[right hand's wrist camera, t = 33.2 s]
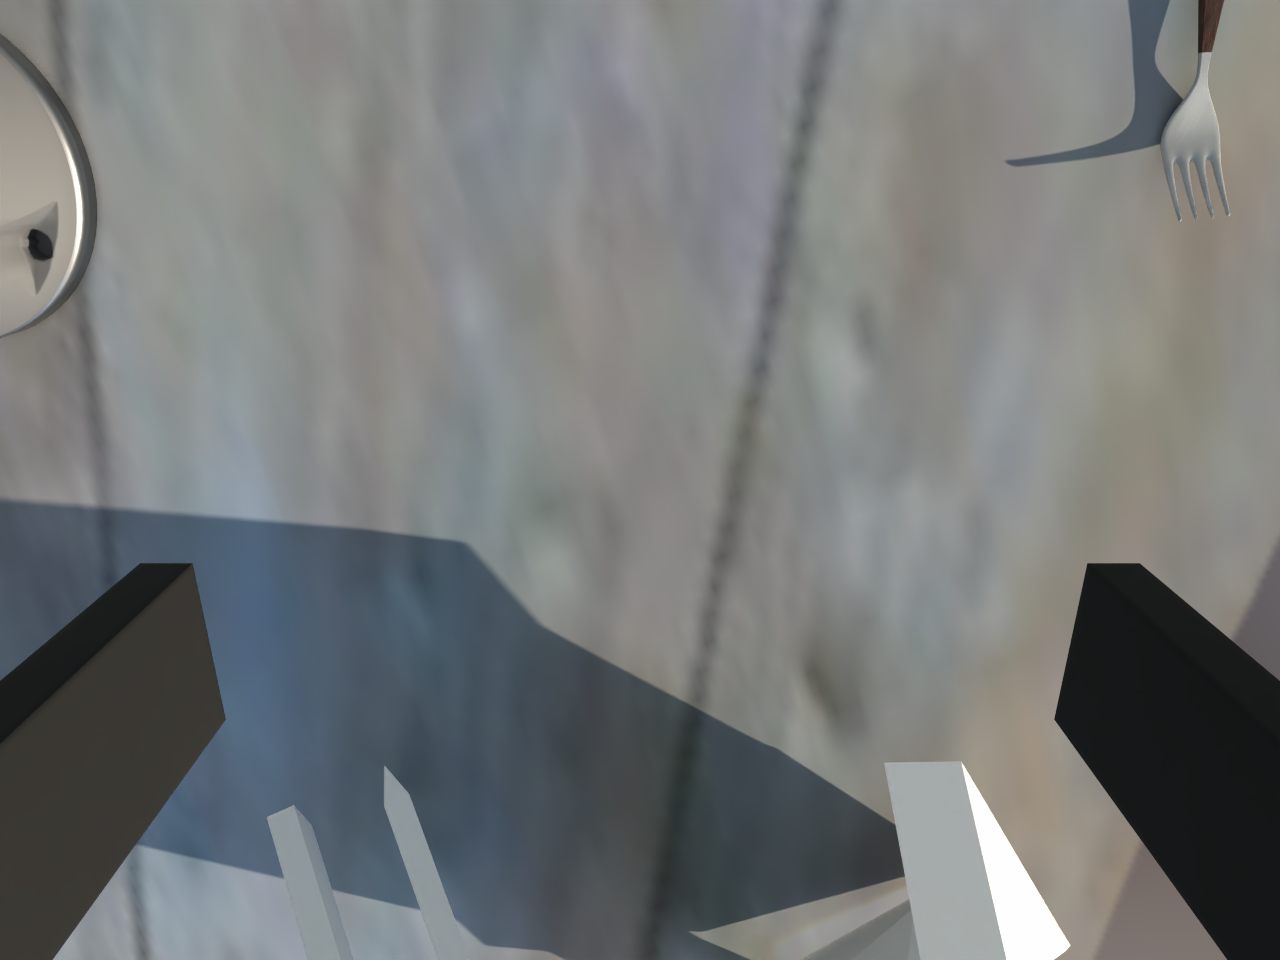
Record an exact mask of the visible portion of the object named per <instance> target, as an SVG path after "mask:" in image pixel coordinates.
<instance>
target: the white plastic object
mask: <svg viewBox="0 0 1280 960" xmlns="http://www.w3.org/2000/svg"><path fill="white" fill-rule="evenodd" d="M884 765H885V770H886V776H887V781H888V786H889V792H890V797H891V803H892V808H893V813H894V819H895V824H896V830H897V835H898V840H899V846H900V851H901V857H902V862H903V868H904V873H905V878H906V884H907V889H908V895H909V899H908V900H907V901H905V902H903V903H901V904H899V905H898V906H896V907H894V908H892V909H890V910H889V911H887V912H885V913H883V914H882V915H880V916H878V917H876V918H874V919H873V920H871V921H869V922H867V923H865V924H864V925H862V926H860V927H858V928H856V929H855V930H853V931H851V932H849V933H847V934H846V935H844V936H842V937H840V938H838V939H837V940H835V941H833V942H831V943H829V944H828V945H826V946H824V947H822V948H820V949H819V950H817V951H815V952H813V953H811V954H810V955H808V956H806V957H804V958H802V959H801V960H1054V959H1055V958H1056V957H1058V956H1059V955H1061V954H1062V953H1063V952H1065V951H1066V950H1067V949H1068V948H1069V946H1070V944H1069V942H1068V941H1067V939H1066V938H1065V936H1064V934H1063V933H1062V931H1061V929H1060V928H1059V926H1058V924H1057V923H1056V921H1055V919H1054V918H1053V916H1052V914H1051V912H1050V911H1049V909H1048V907H1047V906H1046V904H1045V902H1044V901H1043V899H1042V897H1041V896H1040V894H1039V892H1038V890H1037V889H1036V887H1035V885H1034V884H1033V882H1032V880H1031V879H1030V877H1029V875H1028V874H1027V872H1026V870H1025V869H1024V867H1023V865H1022V863H1021V862H1020V860H1019V858H1018V857H1017V855H1016V853H1015V852H1014V850H1013V848H1012V847H1011V845H1010V843H1009V841H1008V840H1007V838H1006V836H1005V835H1004V833H1003V831H1002V830H1001V828H1000V826H999V825H998V823H997V821H996V820H995V818H994V816H993V814H992V813H991V811H990V809H989V808H988V806H987V804H986V803H985V801H984V799H983V798H982V796H981V794H980V792H979V791H978V789H977V787H976V786H975V784H974V782H973V781H972V779H971V777H970V776H969V774H968V772H967V771H966V769H965V767H964V765H963V764H962V762H961V761H959V762H894V763H884ZM384 807H385V810H386V813H387V816H388V819H389V821H390V824H391V827H392V830H393V833H394V836H395V839H396V841H397V844H398V847H399V850H400V853H401V856H402V859H403V861H404V864H405V867H406V870H407V873H408V876H409V879H410V881H411V884H412V887H413V890H414V893H415V896H416V899H417V901H418V904H419V907H420V910H421V913H422V916H423V919H424V921H425V924H426V927H427V930H428V933H429V936H430V939H431V941H432V944H433V947H434V950H435V953H436V956H437V959H438V960H470V959H469V957H468V954H467V951H466V948H465V946H464V943H463V940H462V937H461V935H460V932H459V929H458V926H457V924H456V921H455V918H454V915H453V913H452V910H451V907H450V905H449V902H448V899H447V896H446V894H445V891H444V888H443V885H442V883H441V880H440V877H439V874H438V872H437V869H436V866H435V863H434V861H433V858H432V855H431V853H430V850H429V847H428V844H427V842H426V839H425V836H424V833H423V831H422V828H421V825H420V822H419V820H418V817H417V814H416V811H415V809H414V806H413V803H412V800H411V798H410V795H409V793H408V792H407V791H406V790H405V789H404V788H403V786H402V785H401V784H400V783H399V782H398V781H397V779H396V778H395V777H394V776H393V775H392V774H391V772H390V771H389V770H388V769H387V768H386V767H385V765H384ZM267 820H268V824H269V827H270V831H271V834H272V838H273V841H274V845H275V848H276V851H277V855H278V858H279V862H280V865H281V869H282V872H283V876H284V879H285V883H286V886H287V890H288V893H289V896H290V900H291V903H292V907H293V910H294V914H295V917H296V921H297V924H298V928H299V931H300V934H301V938H302V941H303V945H304V948H305V952H306V955H307V959H308V960H354V959H353V956H352V952H351V949H350V946H349V943H348V940H347V936H346V933H345V930H344V927H343V923H342V920H341V917H340V914H339V911H338V907H337V904H336V901H335V898H334V895H333V891H332V888H331V885H330V882H329V878H328V875H327V872H326V869H325V866H324V862H323V859H322V856H321V853H320V849H319V846H318V843H317V840H316V837H315V833H314V830H313V827H312V825H311V824H310V823H309V822H308V821H307V819H306V818H305V817H304V816H303V815H302V814H301V813H300V812H299V810H298V809H297V808H296V807H295V806H294V805H293V806H290V807H288V808H286V809H284V810H281V811H279V812H277V813H275V814H272V815H270V816H268V817H267Z"/></svg>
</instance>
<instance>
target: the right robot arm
mask: <svg viewBox="0 0 1280 960" xmlns="http://www.w3.org/2000/svg"><path fill="white" fill-rule="evenodd" d="M96 226H97V200H96V191H95V184H94V179H93V174H92V170H91V166H90V162H89V159H88V156H87V153H86V150H85V147H84V145H83V142H82V140H81V137H80V134H79V132H78V130H77V128H76V126H75V124H74V122H73V120H72V118H71V116H70V114H69V113H68V111H67V109H66V108H65V106H64V104H63V103H62V101H61V99H60V98H59V96H58V95H57V93H56V92H55V91H54V89H53V88H52V86H51V85H50V83H49V82H48V81H47V80H46V79H45V77H44V76H43V75H42V74H41V72H40V71H39V70H38V69H37V68H36V66H35V65H34V64H33V63H32V62H31V61H30V60H29V59H28V58H27V57H26V56H25V55H24V54H23V53H22V52H21V51H20V50H19V49H18V48H17V47H15V46H14V45H13V44H12V43H11V42H10V41H9V40H8V39H6V38H5V37H4V36H2V35H1V34H0V338H1V337H4V336H7V335H11V334H14V333H17V332H20V331H23V330H25V329H28V328H30V327H32V326H34V325H36V324H38V323H39V322H41V321H43V320H44V319H46V318H48V317H49V316H50V315H51V314H53V313H54V312H55V311H57V310H58V309H59V308H60V307H61V306H62V305H63V304H64V303H65V302H66V301H67V300H68V298H69V297H70V296H71V294H72V293H73V292H74V291H75V289H76V288H77V286H78V284H79V283H80V281H81V279H82V278H83V276H84V273H85V271H86V269H87V266H88V264H89V261H90V258H91V254H92V251H93V247H94V242H95V236H96ZM225 720H226V719H225V714H224V709H223V705H222V700H221V695H220V691H219V686H218V681H217V676H216V672H215V667H214V662H213V658H212V653H211V648H210V644H209V639H208V634H207V629H206V625H205V620H204V615H203V611H202V606H201V601H200V596H199V592H198V587H197V582H196V578H195V573H194V568H193V563H140V564H139V565H138V566H137V567H135V568H134V569H133V570H132V571H131V572H130V573H128V574H127V575H126V576H125V577H124V578H122V579H121V580H120V581H119V582H118V583H116V584H115V585H114V586H113V587H112V588H110V589H109V590H108V591H107V592H106V593H105V594H103V595H102V596H101V597H100V598H99V599H97V600H96V601H95V602H94V603H93V604H91V605H90V606H89V607H88V608H87V609H85V610H84V611H83V612H82V613H81V614H79V615H78V616H77V617H76V618H75V619H74V620H72V621H71V622H70V623H69V624H68V625H66V626H65V627H64V628H63V629H62V630H60V631H59V632H58V633H57V634H56V635H54V636H53V637H52V638H51V639H50V640H49V641H47V642H46V643H45V644H44V645H43V646H41V647H40V648H39V649H38V650H37V651H35V652H34V653H33V654H32V655H31V656H29V657H28V658H27V659H26V660H25V661H24V662H22V663H21V664H20V665H19V666H18V667H16V668H15V669H14V670H13V671H12V672H10V673H9V674H8V675H7V676H6V677H4V678H3V679H2V680H1V681H0V960H53V958H54V957H55V956H56V954H57V953H58V951H59V950H60V949H61V947H62V946H63V945H64V943H65V942H66V940H67V939H68V938H69V936H70V935H71V933H72V932H73V931H74V929H75V928H76V926H77V925H78V924H79V922H80V921H81V920H82V918H83V917H84V915H85V914H86V913H87V911H88V910H89V908H90V907H91V906H92V904H93V903H94V901H95V900H96V899H97V897H98V896H99V895H100V893H101V892H102V890H103V889H104V888H105V886H106V885H107V883H108V882H109V881H110V879H111V878H112V876H113V875H114V874H115V872H116V871H117V870H118V868H119V867H120V865H121V864H122V863H123V861H124V860H125V858H126V857H127V856H128V854H129V853H130V851H131V850H132V849H133V847H134V846H135V845H136V843H137V842H138V840H139V839H140V838H141V836H142V835H143V833H144V832H145V831H146V829H147V828H148V826H149V825H150V824H151V822H152V821H153V820H154V818H155V817H156V815H157V814H158V813H159V811H160V810H161V808H162V807H163V806H164V804H165V803H166V801H167V800H168V799H169V797H170V796H171V795H172V793H173V792H174V790H175V789H176V788H177V786H178V785H179V783H180V782H181V781H182V779H183V778H184V776H185V775H186V774H187V772H188V771H189V770H190V768H191V767H192V765H193V764H194V763H195V761H196V760H197V758H198V757H199V756H200V754H201V753H202V751H203V750H204V749H205V747H206V746H207V745H208V743H209V742H210V740H211V739H212V738H213V736H214V735H215V733H216V732H217V731H218V729H219V728H220V726H221V725H222V724H223V722H224V721H225ZM1054 720H1055V721H1056V722H1057V724H1058V725H1059V726H1060V728H1061V729H1062V731H1063V732H1064V733H1065V735H1066V736H1067V738H1068V739H1069V740H1070V742H1071V743H1072V745H1073V746H1074V747H1075V749H1076V750H1077V751H1078V753H1079V754H1080V756H1081V757H1082V758H1083V760H1084V761H1085V763H1086V764H1087V765H1088V767H1089V768H1090V770H1091V771H1092V772H1093V774H1094V775H1095V776H1096V778H1097V779H1098V781H1099V782H1100V783H1101V785H1102V786H1103V788H1104V789H1105V790H1106V792H1107V793H1108V795H1109V796H1110V797H1111V799H1112V800H1113V801H1114V803H1115V804H1116V806H1117V807H1118V808H1119V810H1120V811H1121V813H1122V814H1123V815H1124V817H1125V818H1126V820H1127V821H1128V822H1129V824H1130V825H1131V826H1132V828H1133V829H1134V831H1135V832H1136V833H1137V835H1138V836H1139V838H1140V839H1141V840H1142V842H1143V843H1144V845H1145V846H1146V847H1147V849H1148V850H1149V851H1150V853H1151V854H1152V856H1153V857H1154V858H1155V860H1156V861H1157V863H1158V864H1159V865H1160V867H1161V868H1162V870H1163V871H1164V872H1165V874H1166V875H1167V876H1168V878H1169V879H1170V881H1171V882H1172V883H1173V885H1174V886H1175V888H1176V889H1177V890H1178V892H1179V893H1180V895H1181V896H1182V897H1183V899H1184V900H1185V901H1186V903H1187V904H1188V906H1189V907H1190V908H1191V910H1192V911H1193V913H1194V914H1195V915H1196V917H1197V918H1198V920H1199V921H1200V922H1201V924H1202V925H1203V926H1204V928H1205V929H1206V931H1207V932H1208V933H1209V935H1210V936H1211V937H1212V939H1213V940H1214V942H1215V943H1216V944H1217V946H1218V947H1219V949H1220V950H1221V951H1222V953H1223V954H1224V956H1225V957H1226V958H1227V960H1280V681H1279V680H1278V679H1277V678H1276V677H1274V676H1273V675H1272V674H1271V673H1269V672H1268V671H1267V670H1266V669H1265V668H1264V667H1262V666H1261V665H1260V664H1259V663H1258V662H1256V661H1255V660H1254V659H1253V658H1252V657H1250V656H1249V655H1248V654H1247V653H1246V652H1245V651H1243V650H1242V649H1241V648H1240V647H1239V646H1237V645H1236V644H1235V643H1234V642H1233V641H1231V640H1230V639H1229V638H1228V637H1227V636H1226V635H1224V634H1223V633H1222V632H1221V631H1220V630H1218V629H1217V628H1216V627H1215V626H1214V625H1212V624H1211V623H1210V622H1209V621H1208V620H1206V619H1205V618H1204V617H1203V616H1202V615H1201V614H1199V613H1198V612H1197V611H1196V610H1195V609H1193V608H1192V607H1191V606H1190V605H1189V604H1187V603H1186V602H1185V601H1184V600H1183V599H1181V598H1180V597H1179V596H1178V595H1177V594H1175V593H1174V592H1173V591H1172V590H1171V589H1170V588H1168V587H1167V586H1166V585H1165V584H1164V583H1162V582H1161V581H1160V580H1159V579H1158V578H1156V577H1155V576H1154V575H1153V574H1152V573H1150V572H1149V571H1148V570H1147V569H1146V568H1145V567H1143V566H1142V565H1141V564H1140V563H1087V568H1086V573H1085V578H1084V582H1083V587H1082V592H1081V596H1080V601H1079V606H1078V611H1077V615H1076V620H1075V625H1074V629H1073V634H1072V639H1071V644H1070V648H1069V653H1068V658H1067V662H1066V667H1065V672H1064V676H1063V681H1062V686H1061V691H1060V695H1059V700H1058V705H1057V709H1056V714H1055V719H1054Z"/></svg>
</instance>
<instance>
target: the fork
mask: <svg viewBox="0 0 1280 960" xmlns="http://www.w3.org/2000/svg"><path fill="white" fill-rule="evenodd" d="M1223 3H1224V0H1199V7H1198V67H1197V75H1196V79H1195V81H1194V84H1193V86H1192V88H1191V89H1190V91H1189V92H1188V94H1187V95H1186V97H1185V98H1184V99H1183V101H1182V102H1181V103H1180V105H1179V106H1178V107H1177V109H1176V110H1175V112H1174V113H1173V114H1172V116H1171V117H1170V119H1169V121H1168V122H1167V124H1166V126H1165V128H1164V131H1163V134H1162V137H1161V155H1162V160H1163V165H1164V169H1165V174H1166V178H1167V183H1168V186H1169V190H1170V194H1171V197H1172V201H1173V204H1174V208H1175V211H1176V214H1177V218H1178V221H1181V220H1182V218H1181V214H1180V209H1179V204H1178V198H1177V192H1176V186H1175V179H1174V171H1173V166H1174V163H1175V162H1176V163H1178V165H1179V167H1180V170H1181V173H1182V177H1183V181H1184V185H1185V189H1186V193H1187V196H1188V199H1189V203H1190V206H1191V209H1192V213H1193V216H1194V218H1195V220H1196V219H1197V218H1198V217H1197V212H1196V208H1195V202H1194V196H1193V191H1192V184H1191V178H1190V170H1189V164H1190V161H1193V162H1194V163H1195V165H1196V168H1197V172H1198V176H1199V180H1200V184H1201V187H1202V191H1203V194H1204V198H1205V201H1206V204H1207V208H1208V211H1209V214H1210V217H1211V218H1213V216H1214V214H1213V210H1212V205H1211V200H1210V195H1209V189H1208V183H1207V177H1206V169H1205V162H1206V160H1207V159H1209V160H1210V161H1211V164H1212V167H1213V171H1214V175H1215V179H1216V182H1217V186H1218V189H1219V193H1220V196H1221V199H1222V203H1223V206H1224V209H1225V212H1226V215H1227V216H1229V215H1230V211H1229V208H1228V203H1227V198H1226V193H1225V187H1224V181H1223V175H1222V168H1221V159H1220V134H1219V126H1218V121H1217V117H1216V113H1215V110H1214V107H1213V103H1212V100H1211V97H1210V93H1209V89H1208V82H1207V77H1208V68H1209V62H1210V57H1211V53H1212V49H1213V44H1214V40H1215V36H1216V32H1217V28H1218V23H1219V19H1220V15H1221V11H1222V7H1223Z"/></svg>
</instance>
